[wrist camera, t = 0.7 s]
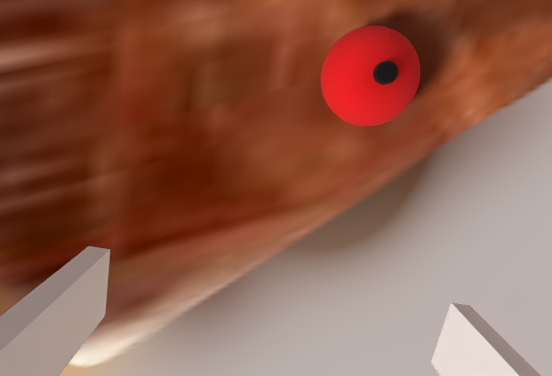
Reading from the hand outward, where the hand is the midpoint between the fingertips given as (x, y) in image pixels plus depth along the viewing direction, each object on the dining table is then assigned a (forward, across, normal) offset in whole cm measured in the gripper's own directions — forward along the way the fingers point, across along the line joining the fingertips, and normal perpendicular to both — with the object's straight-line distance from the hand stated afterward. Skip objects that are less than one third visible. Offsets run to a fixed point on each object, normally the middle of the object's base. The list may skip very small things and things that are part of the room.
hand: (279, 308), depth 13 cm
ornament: (+27, +7, +11) cm, 30 cm away
